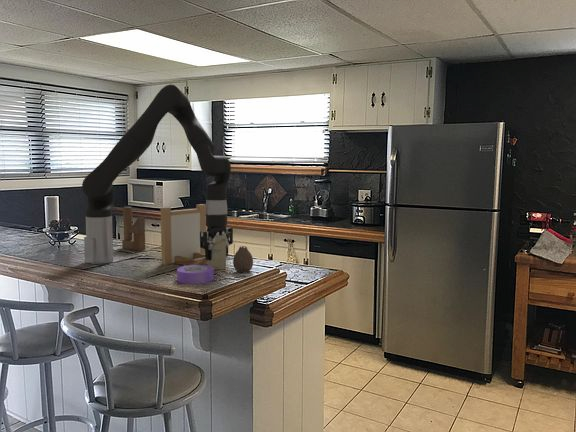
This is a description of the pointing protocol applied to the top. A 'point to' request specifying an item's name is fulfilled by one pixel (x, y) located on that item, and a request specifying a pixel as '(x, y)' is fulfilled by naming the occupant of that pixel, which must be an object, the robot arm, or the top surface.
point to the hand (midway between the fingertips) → (216, 258)
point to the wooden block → (133, 231)
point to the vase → (243, 260)
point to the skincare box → (218, 253)
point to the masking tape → (195, 274)
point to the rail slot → (191, 260)
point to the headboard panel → (181, 232)
